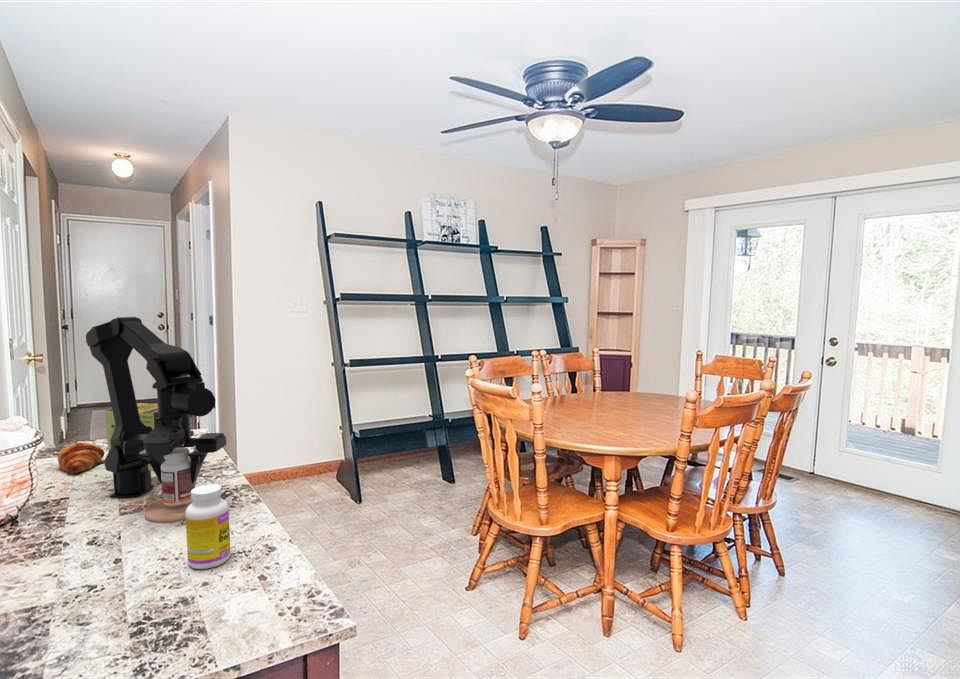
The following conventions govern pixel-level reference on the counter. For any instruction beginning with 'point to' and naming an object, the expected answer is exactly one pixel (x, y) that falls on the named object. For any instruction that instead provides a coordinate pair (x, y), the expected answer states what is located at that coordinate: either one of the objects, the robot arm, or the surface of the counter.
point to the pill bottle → (176, 478)
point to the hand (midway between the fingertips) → (178, 482)
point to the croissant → (80, 457)
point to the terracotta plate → (165, 512)
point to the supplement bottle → (207, 528)
